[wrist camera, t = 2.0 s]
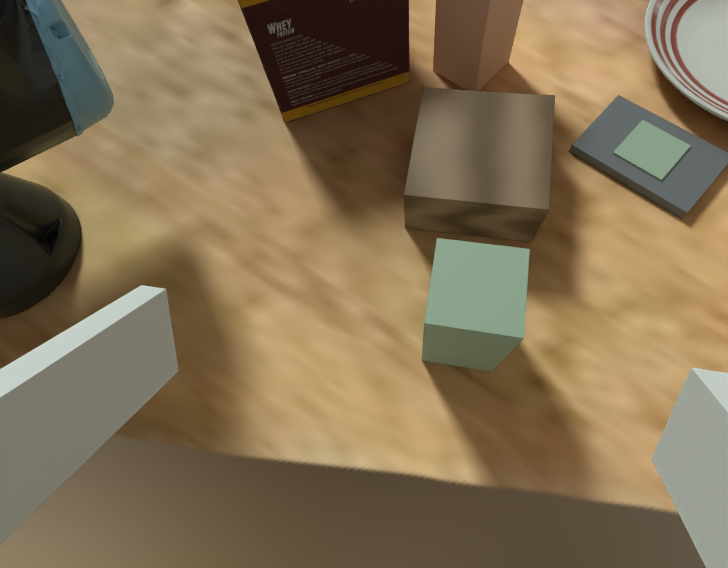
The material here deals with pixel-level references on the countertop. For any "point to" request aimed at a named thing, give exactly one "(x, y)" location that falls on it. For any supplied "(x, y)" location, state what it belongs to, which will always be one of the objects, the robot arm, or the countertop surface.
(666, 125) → the tile
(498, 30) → the terracotta block
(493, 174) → the walnut block
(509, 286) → the sage block
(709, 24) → the dinner plate
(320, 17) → the supplement box
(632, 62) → the countertop surface
